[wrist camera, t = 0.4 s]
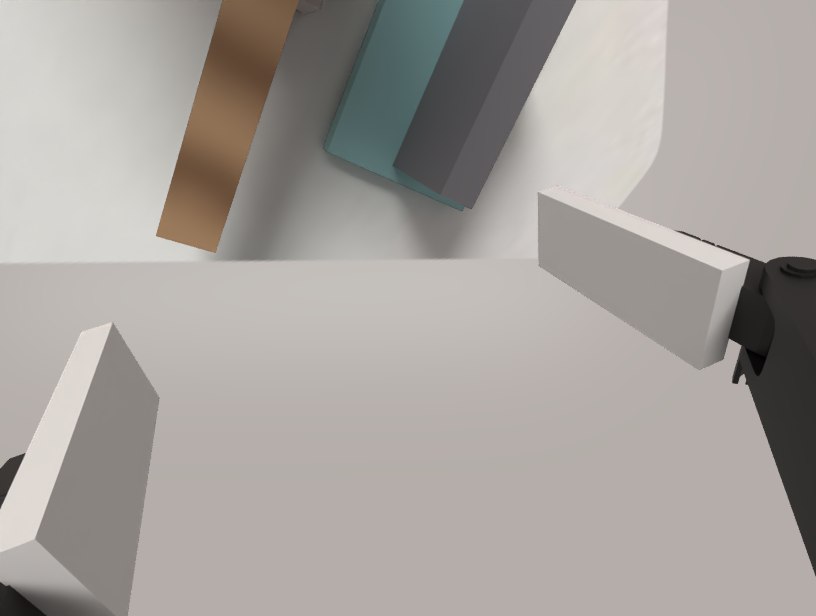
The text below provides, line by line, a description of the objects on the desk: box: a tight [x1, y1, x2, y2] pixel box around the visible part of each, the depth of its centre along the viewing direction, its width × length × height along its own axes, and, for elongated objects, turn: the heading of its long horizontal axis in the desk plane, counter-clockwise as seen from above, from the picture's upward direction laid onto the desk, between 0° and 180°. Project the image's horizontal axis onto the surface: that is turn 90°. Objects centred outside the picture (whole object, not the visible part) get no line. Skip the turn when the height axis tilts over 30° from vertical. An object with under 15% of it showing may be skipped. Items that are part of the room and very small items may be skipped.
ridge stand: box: [323, 0, 576, 211], centre depth 29 cm, size 12×16×10 cm
